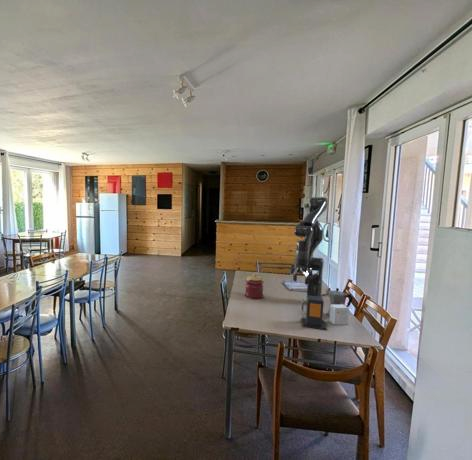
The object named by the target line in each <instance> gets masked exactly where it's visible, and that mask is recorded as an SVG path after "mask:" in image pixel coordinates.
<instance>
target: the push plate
mask: <svg viewBox="0 0 472 460" xmlns="http://www.w3.org/2000/svg"><path fill="white" fill-rule="evenodd" d="M304 305H305V301H304V298H301V299H300V310H301V311H302V312H304Z"/></svg>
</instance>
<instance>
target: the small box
mask: <svg viewBox="0 0 472 460" xmlns="http://www.w3.org/2000/svg"><path fill="white" fill-rule="evenodd" d="M345 305H346V304H345ZM345 305H344V303H343V304H335V305H330V304H329V307H330V316H329V322H330V323H331V324H332V325H335V326H339V325H340V326H342V325H343V326H344V325H345V326H346V325H349V324H348V323H349V322H348V321H349V307H346V306H345Z"/></svg>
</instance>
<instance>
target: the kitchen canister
mask: <svg viewBox="0 0 472 460" xmlns="http://www.w3.org/2000/svg"><path fill="white" fill-rule="evenodd" d="M245 282H246V283H245V293H244V294H245V297H246V298H249V299H252V300H253V299H254V300H259V299H262V298H263V296H264V285H263V284H264V280H263V277H261V275H257V273H253V274H252V275H249V276H246V280H245Z"/></svg>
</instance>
